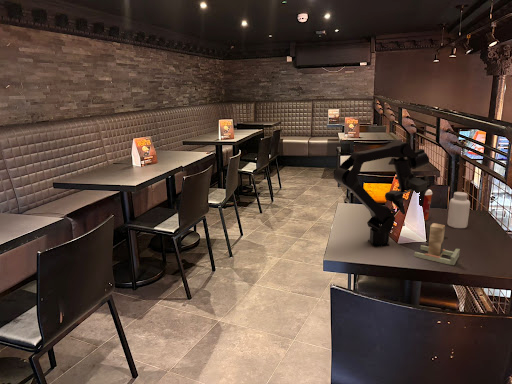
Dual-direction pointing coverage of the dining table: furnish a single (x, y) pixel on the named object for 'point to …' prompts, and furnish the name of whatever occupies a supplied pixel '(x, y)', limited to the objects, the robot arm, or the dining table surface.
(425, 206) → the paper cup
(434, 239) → the birch finger
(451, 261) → the sage rail
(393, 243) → the dining table surface
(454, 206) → the pill bottle
